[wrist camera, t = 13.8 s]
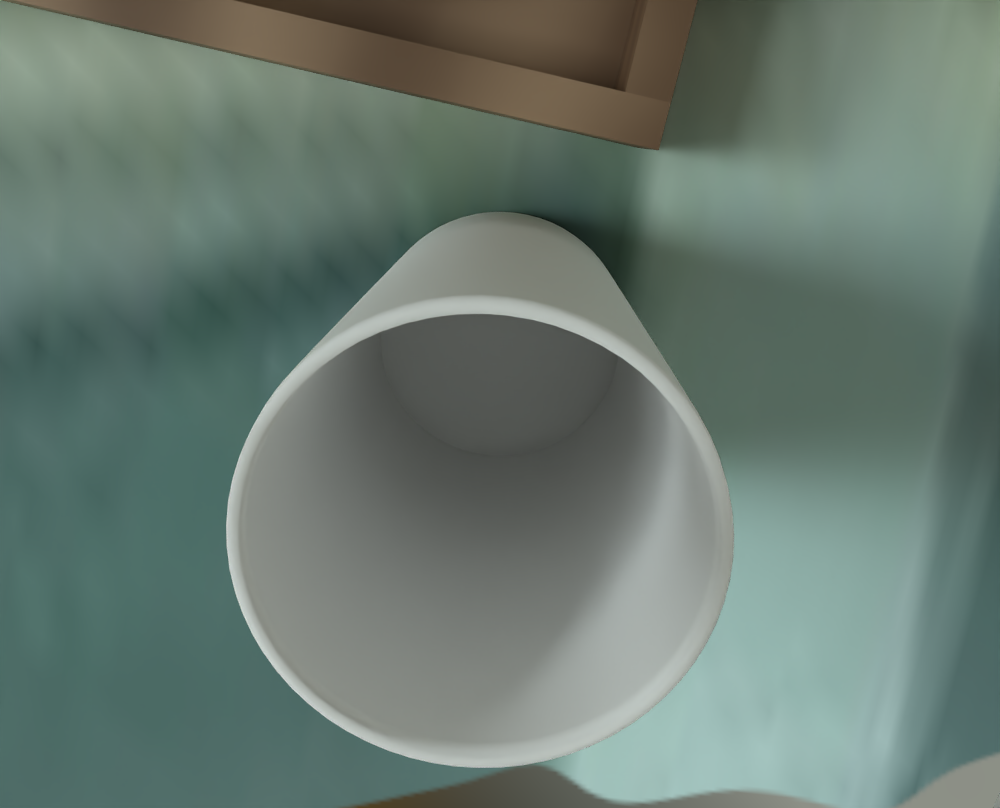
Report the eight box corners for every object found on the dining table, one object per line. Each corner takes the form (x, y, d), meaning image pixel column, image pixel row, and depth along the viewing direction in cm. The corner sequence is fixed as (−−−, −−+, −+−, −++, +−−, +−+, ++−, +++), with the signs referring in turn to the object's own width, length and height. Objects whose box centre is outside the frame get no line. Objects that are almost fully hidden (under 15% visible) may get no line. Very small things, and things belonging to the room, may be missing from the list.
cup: (607, 472, 31) (689, 794, 16) (365, 445, 31) (216, 743, 16) (645, 227, 29) (782, 330, 14) (383, 197, 29) (230, 268, 14)
